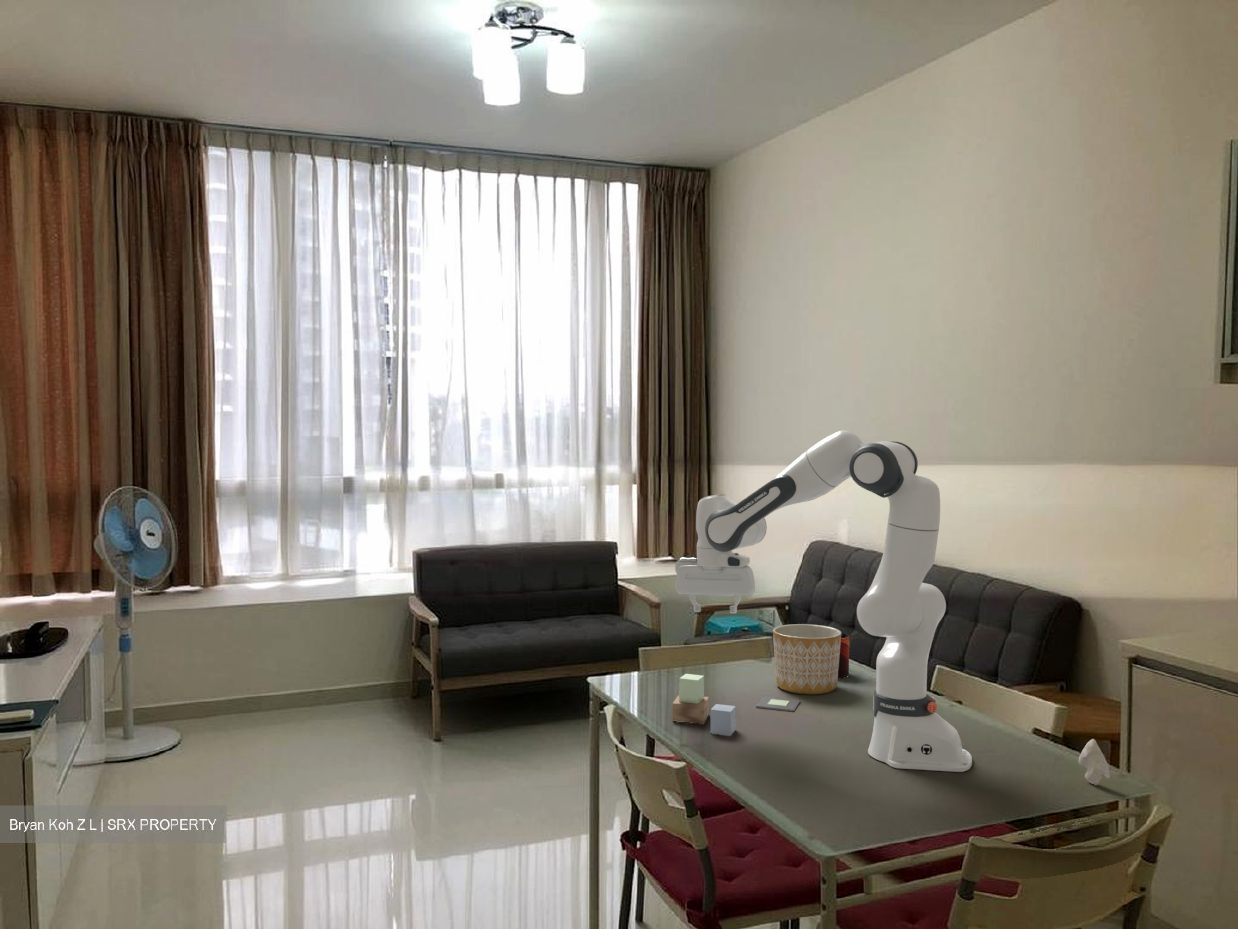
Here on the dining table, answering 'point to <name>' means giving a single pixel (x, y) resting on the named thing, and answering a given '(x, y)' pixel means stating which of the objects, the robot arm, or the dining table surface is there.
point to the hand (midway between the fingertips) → (715, 612)
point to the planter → (806, 658)
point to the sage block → (691, 688)
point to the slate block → (723, 720)
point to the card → (778, 703)
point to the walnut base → (691, 711)
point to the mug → (844, 657)
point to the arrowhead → (1094, 762)
